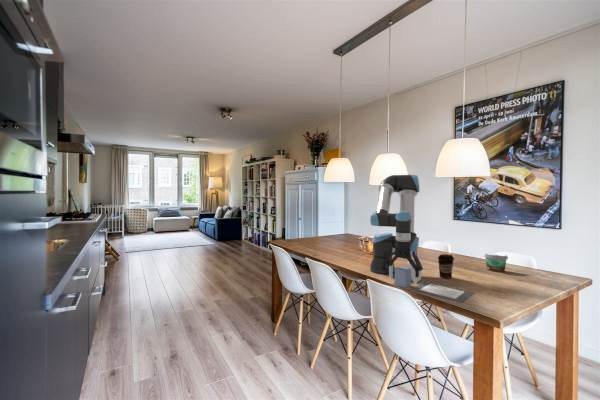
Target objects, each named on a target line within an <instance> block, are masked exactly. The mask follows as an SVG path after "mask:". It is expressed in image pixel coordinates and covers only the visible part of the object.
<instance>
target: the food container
mask: <svg viewBox="0 0 600 400" xmlns="http://www.w3.org/2000/svg"><path fill="white" fill-rule="evenodd" d="M483 256H484V257H485V262H486V264H485V265H486V270H488V271H490V272H493V273H494V272H495V273H504V272H505V271H506V267H507V266H506V264H507V260H508V259H509V257H508V255H499V254H488V253H484V255H483Z"/></svg>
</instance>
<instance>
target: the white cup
mask: <svg viewBox="0 0 600 400" xmlns="http://www.w3.org/2000/svg"><path fill="white" fill-rule="evenodd" d="M413 261H414V259H413ZM419 261H420V263H421V265H422V266H423V261H421V260H419ZM414 262H415V261H414ZM406 263H407V265H406V268H411V282H412V281H413V276H414V271H415V270H414V268H413V267H412V265H411V264H410V263H409V261H408V260H407V261H406ZM415 264H416V263H415ZM422 272H423V271H422V270H421V271H419V277H417V282H420V281H421V280H422V274H423V273H422Z"/></svg>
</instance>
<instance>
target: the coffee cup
mask: <svg viewBox="0 0 600 400" xmlns="http://www.w3.org/2000/svg"><path fill="white" fill-rule="evenodd" d="M453 256H454V255H452V254H449V253H448V254H443V253H440V254H439V255H438V256H437V259H438V270H439V278H441V279H447V280H448V279H450V280H451V279H453V277H452V276H453V274H452V273H453V268H454V261H455V257H453Z"/></svg>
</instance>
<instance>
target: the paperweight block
mask: <svg viewBox="0 0 600 400" xmlns="http://www.w3.org/2000/svg"><path fill="white" fill-rule="evenodd" d="M394 286H397V287H401V288H404V287H405V289H406V288H408V287H410V286H412V281H411V268H407V266H398V267H395V272H394Z"/></svg>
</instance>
